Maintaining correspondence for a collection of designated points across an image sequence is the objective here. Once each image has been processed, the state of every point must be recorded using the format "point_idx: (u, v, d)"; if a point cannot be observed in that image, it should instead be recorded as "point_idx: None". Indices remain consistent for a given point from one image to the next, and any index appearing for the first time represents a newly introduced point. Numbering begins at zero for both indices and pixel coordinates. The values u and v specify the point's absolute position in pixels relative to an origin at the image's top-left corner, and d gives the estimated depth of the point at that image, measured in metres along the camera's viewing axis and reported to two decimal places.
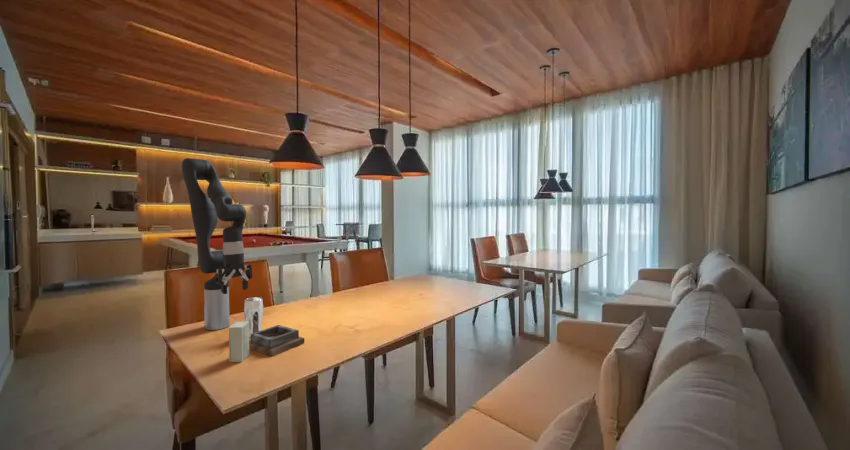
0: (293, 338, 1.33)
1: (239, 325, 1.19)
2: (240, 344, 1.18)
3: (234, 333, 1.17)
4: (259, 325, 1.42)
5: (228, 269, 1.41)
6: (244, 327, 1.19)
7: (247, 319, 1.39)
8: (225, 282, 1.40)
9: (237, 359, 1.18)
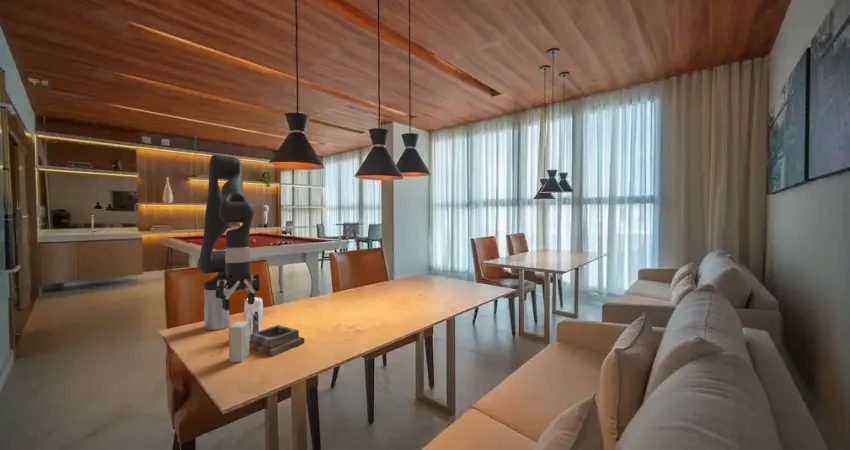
0: (293, 338, 1.33)
1: (239, 325, 1.19)
2: (240, 344, 1.18)
3: (234, 333, 1.17)
4: (259, 325, 1.42)
5: (231, 280, 1.16)
6: (244, 327, 1.19)
7: (247, 319, 1.39)
8: (227, 296, 1.15)
9: (237, 359, 1.18)
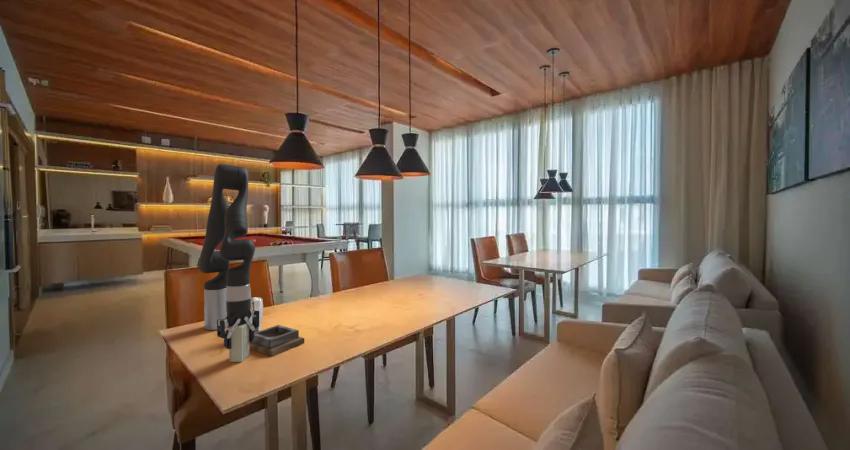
0: (293, 338, 1.33)
1: (239, 325, 1.19)
2: (240, 344, 1.18)
3: (234, 333, 1.17)
4: (259, 325, 1.42)
5: (232, 319, 1.17)
6: (244, 327, 1.19)
7: None
8: (229, 335, 1.16)
9: (237, 359, 1.18)
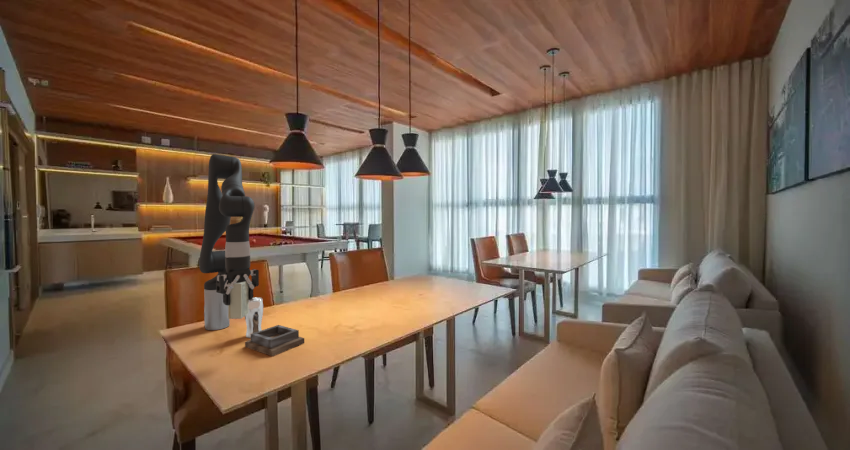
0: (293, 338, 1.33)
1: (239, 282, 1.19)
2: (239, 301, 1.17)
3: (233, 289, 1.17)
4: (259, 325, 1.42)
5: (231, 275, 1.16)
6: (243, 284, 1.19)
7: (247, 319, 1.39)
8: (228, 291, 1.15)
9: (236, 316, 1.17)
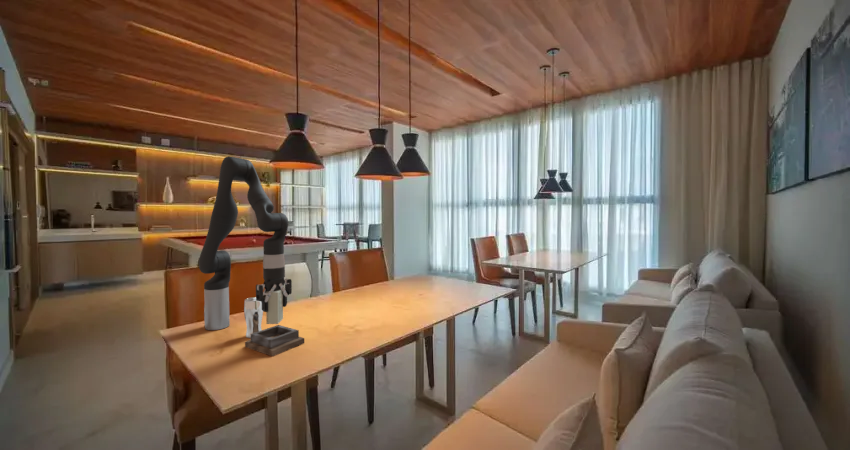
0: (293, 338, 1.33)
1: None
2: (276, 307, 1.29)
3: (271, 297, 1.29)
4: (259, 325, 1.42)
5: (269, 284, 1.29)
6: (279, 292, 1.31)
7: (247, 319, 1.39)
8: (266, 299, 1.28)
9: (273, 321, 1.29)
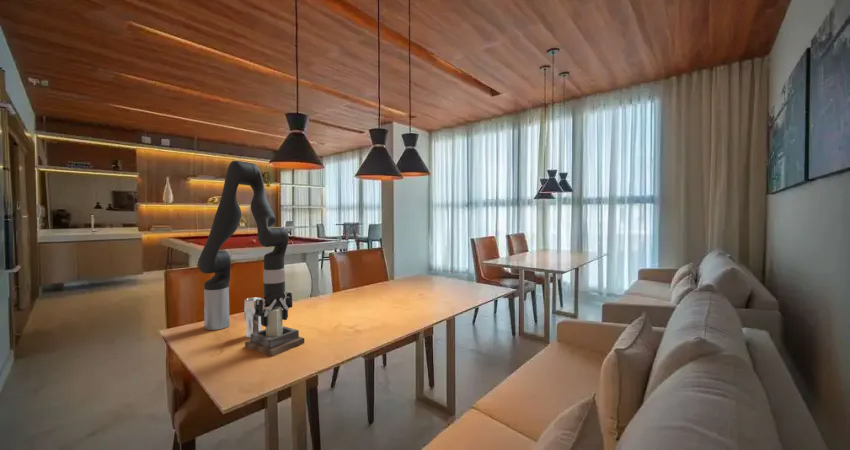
0: (293, 338, 1.33)
1: (274, 309, 1.31)
2: (276, 326, 1.30)
3: (270, 316, 1.29)
4: (259, 325, 1.42)
5: (269, 299, 1.29)
6: (278, 311, 1.31)
7: (247, 319, 1.39)
8: (266, 314, 1.28)
9: None
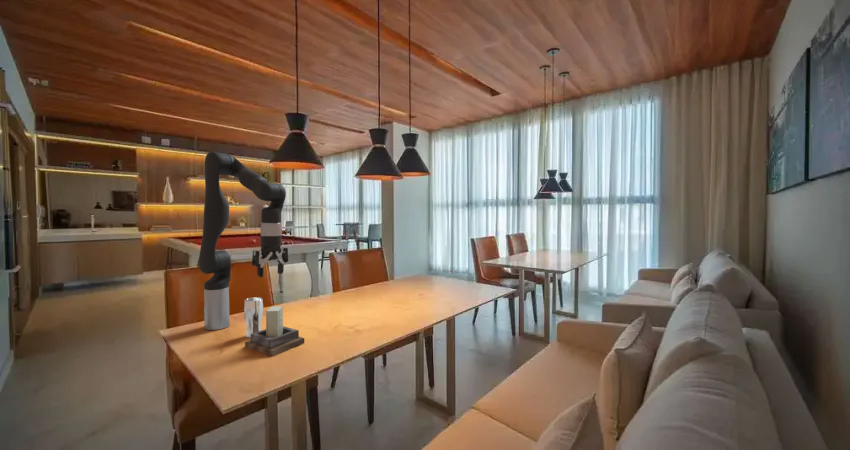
0: (293, 338, 1.33)
1: (275, 309, 1.31)
2: (276, 326, 1.30)
3: (271, 316, 1.29)
4: (259, 325, 1.42)
5: (265, 251, 1.34)
6: (279, 311, 1.31)
7: (247, 319, 1.39)
8: (262, 265, 1.33)
9: None
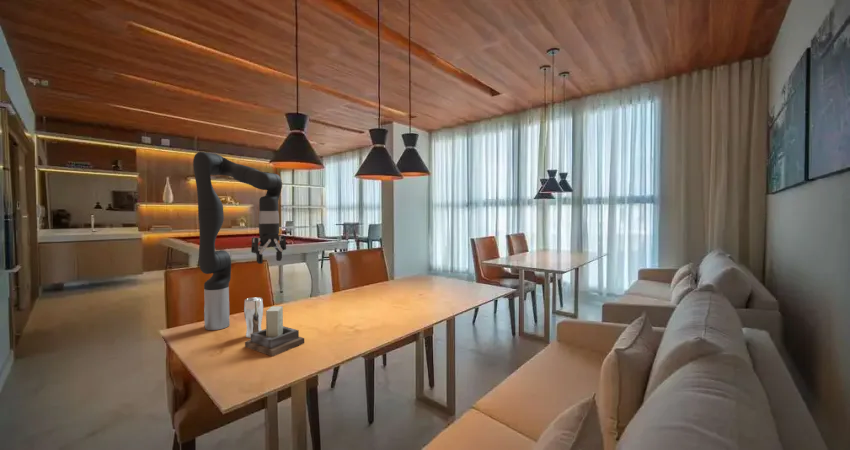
0: (293, 338, 1.33)
1: (275, 309, 1.31)
2: (276, 326, 1.30)
3: (271, 316, 1.29)
4: (259, 325, 1.42)
5: (264, 238, 1.38)
6: (279, 311, 1.31)
7: (247, 319, 1.39)
8: (261, 251, 1.37)
9: None
